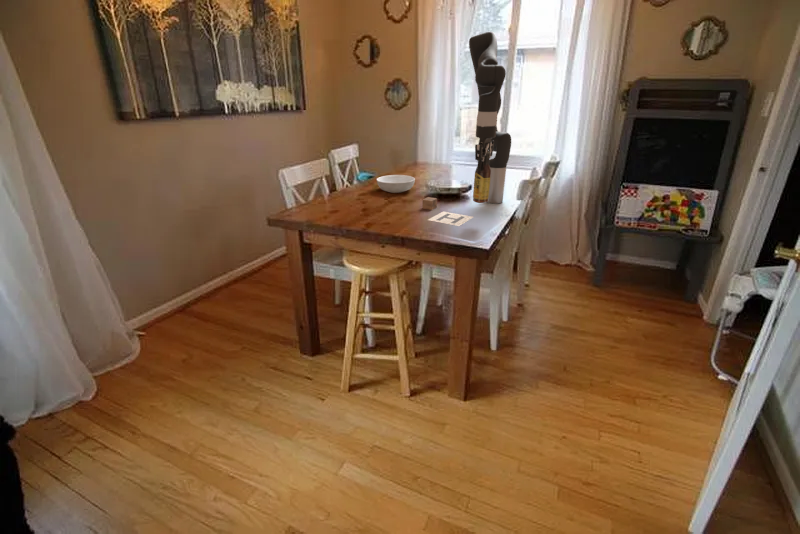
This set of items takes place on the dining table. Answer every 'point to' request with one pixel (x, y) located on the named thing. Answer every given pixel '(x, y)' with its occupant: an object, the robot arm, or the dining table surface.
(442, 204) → the dining table surface
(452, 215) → the letter card
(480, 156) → the robot arm
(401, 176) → the serving bowl
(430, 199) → the walnut block
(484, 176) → the sauce bottle
